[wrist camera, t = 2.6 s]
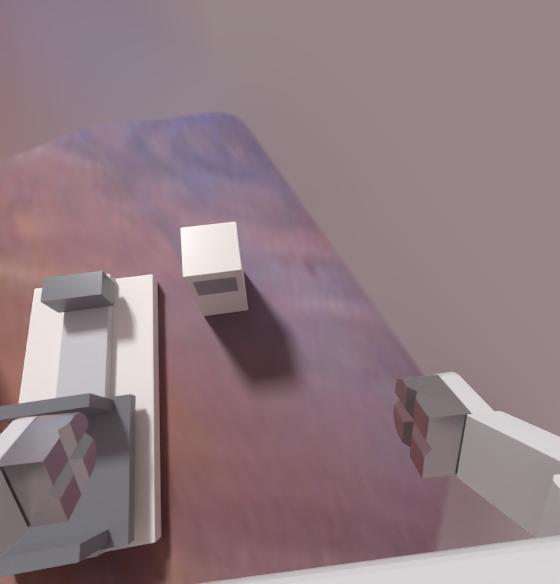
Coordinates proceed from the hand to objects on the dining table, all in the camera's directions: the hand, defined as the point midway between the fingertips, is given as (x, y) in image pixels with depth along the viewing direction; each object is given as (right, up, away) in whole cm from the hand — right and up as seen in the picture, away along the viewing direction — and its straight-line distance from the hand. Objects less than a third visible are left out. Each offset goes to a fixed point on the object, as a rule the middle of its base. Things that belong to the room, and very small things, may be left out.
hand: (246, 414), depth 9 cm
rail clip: (-14, -5, +17) cm, 23 cm away
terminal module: (-4, +3, +23) cm, 23 cm away
